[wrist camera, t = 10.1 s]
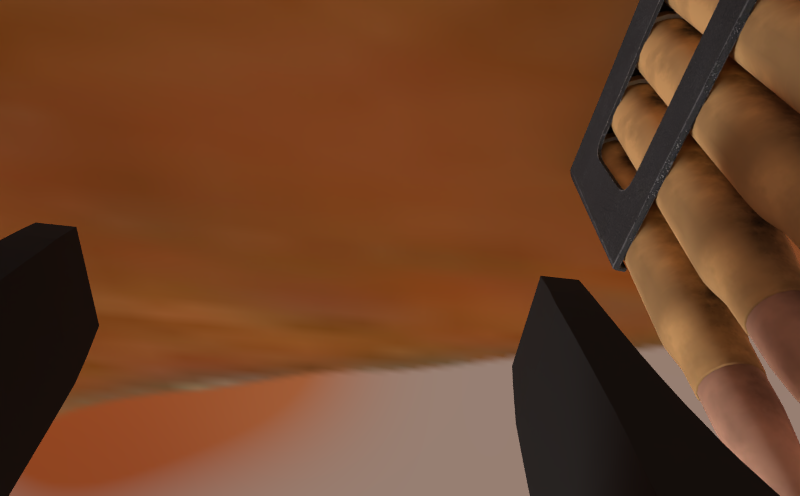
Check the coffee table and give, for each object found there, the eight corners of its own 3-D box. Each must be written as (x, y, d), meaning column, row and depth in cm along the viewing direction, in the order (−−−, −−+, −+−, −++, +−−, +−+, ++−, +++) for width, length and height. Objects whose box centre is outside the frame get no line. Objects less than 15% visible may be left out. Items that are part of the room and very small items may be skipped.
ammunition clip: (624, 186, 19) (829, 575, 10) (568, 175, 19) (719, 561, 10) (828, -242, 13) (1947, -338, 4) (747, -264, 13) (1695, -427, 3)
